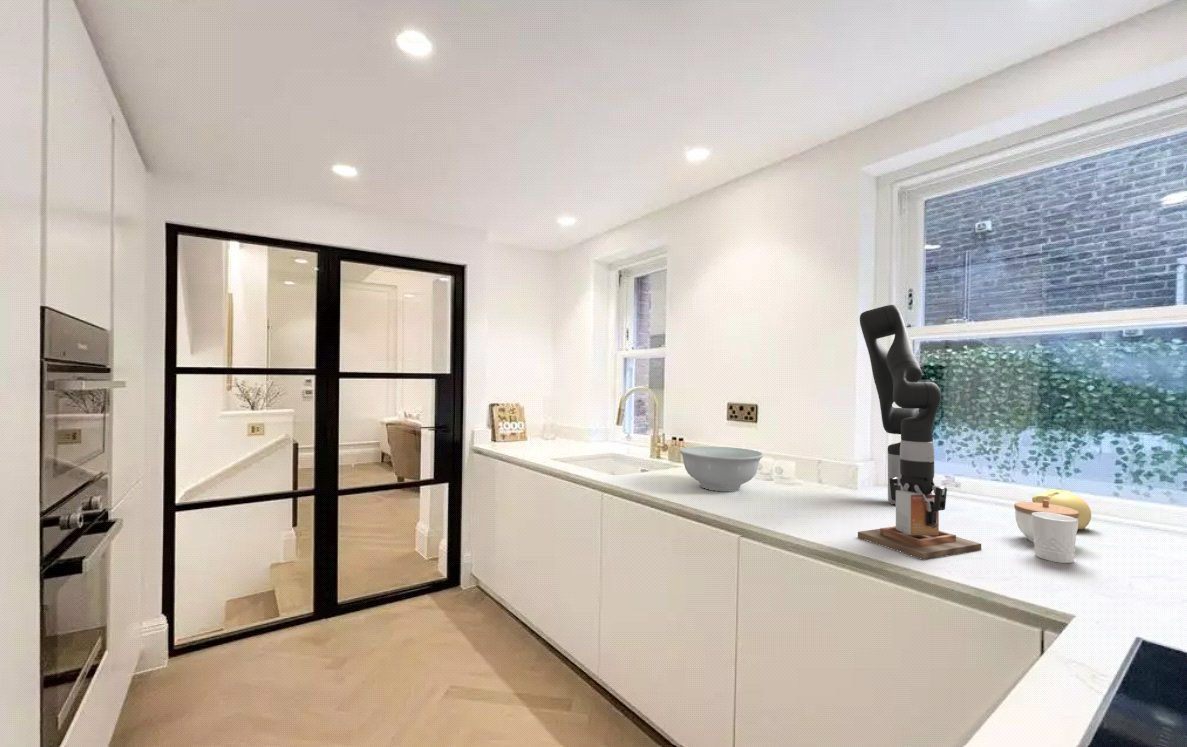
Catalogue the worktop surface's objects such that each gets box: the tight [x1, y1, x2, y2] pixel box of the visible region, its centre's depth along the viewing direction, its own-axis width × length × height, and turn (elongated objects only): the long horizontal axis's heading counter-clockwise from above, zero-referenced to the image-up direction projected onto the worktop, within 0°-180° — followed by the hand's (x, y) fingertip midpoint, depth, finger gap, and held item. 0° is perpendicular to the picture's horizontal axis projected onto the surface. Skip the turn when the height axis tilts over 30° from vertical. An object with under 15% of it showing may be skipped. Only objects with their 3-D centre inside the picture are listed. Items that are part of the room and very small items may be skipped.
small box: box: [895, 490, 940, 535], centre depth 128 cm, size 8×6×10 cm
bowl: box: [679, 446, 764, 492], centre depth 195 cm, size 32×32×15 cm
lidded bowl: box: [1013, 500, 1079, 543], centre depth 130 cm, size 13×13×11 cm
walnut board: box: [857, 525, 982, 560], centre depth 128 cm, size 21×18×3 cm
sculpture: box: [1031, 488, 1092, 530], centre depth 144 cm, size 12×12×11 cm
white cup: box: [1032, 512, 1077, 564], centre depth 118 cm, size 8×8×10 cm
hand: (917, 521), depth 128 cm, fingers closed on small box, 6 cm apart
